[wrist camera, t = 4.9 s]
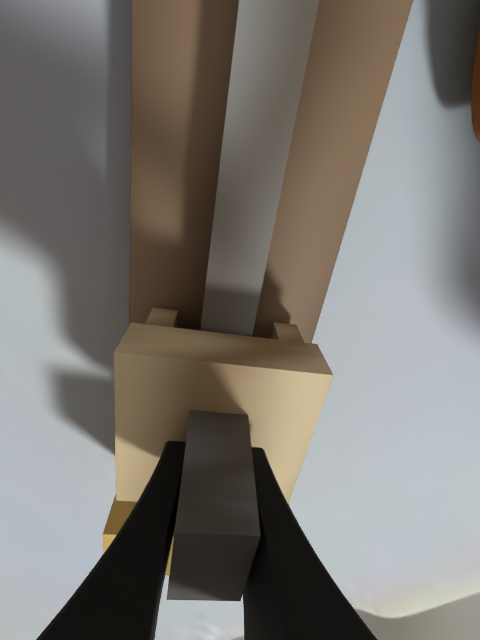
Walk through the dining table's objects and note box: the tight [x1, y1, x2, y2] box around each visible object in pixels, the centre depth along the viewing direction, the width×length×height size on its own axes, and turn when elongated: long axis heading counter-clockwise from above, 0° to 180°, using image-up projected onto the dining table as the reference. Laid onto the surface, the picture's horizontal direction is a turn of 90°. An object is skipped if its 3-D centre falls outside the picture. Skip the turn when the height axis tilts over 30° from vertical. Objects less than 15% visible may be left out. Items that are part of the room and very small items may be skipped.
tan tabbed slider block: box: [114, 307, 333, 601], centre depth 11 cm, size 7×7×8 cm
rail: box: [103, 0, 413, 575], centre depth 11 cm, size 8×28×6 cm, turn 171°
